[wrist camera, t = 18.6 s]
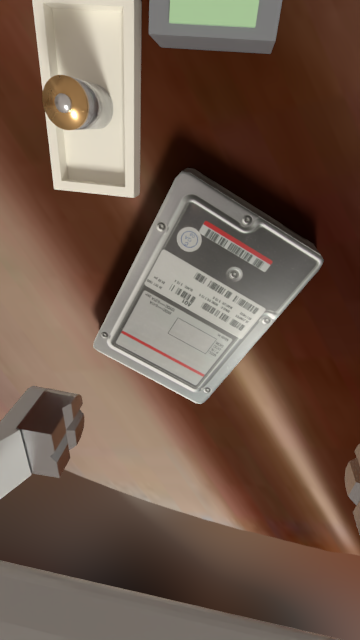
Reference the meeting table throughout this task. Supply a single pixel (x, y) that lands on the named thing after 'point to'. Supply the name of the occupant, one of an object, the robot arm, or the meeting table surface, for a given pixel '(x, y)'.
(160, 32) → the checker cradle
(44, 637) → the robot arm
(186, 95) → the meeting table surface
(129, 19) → the trough
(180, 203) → the hard drive
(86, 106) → the cell
